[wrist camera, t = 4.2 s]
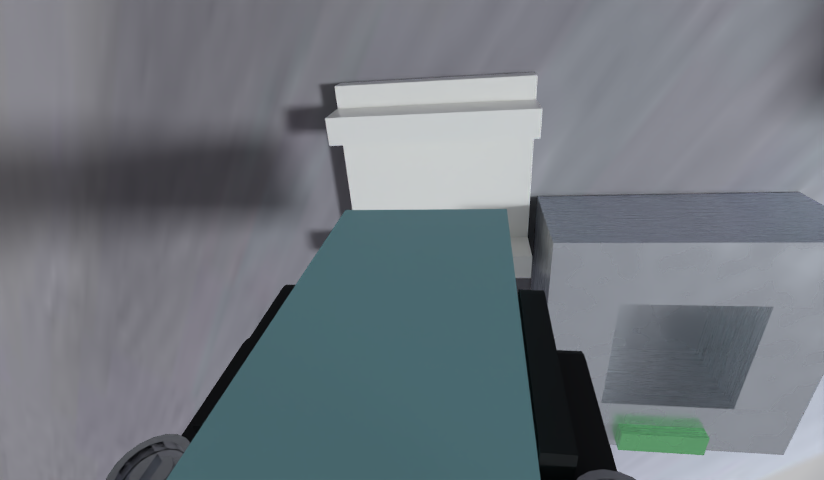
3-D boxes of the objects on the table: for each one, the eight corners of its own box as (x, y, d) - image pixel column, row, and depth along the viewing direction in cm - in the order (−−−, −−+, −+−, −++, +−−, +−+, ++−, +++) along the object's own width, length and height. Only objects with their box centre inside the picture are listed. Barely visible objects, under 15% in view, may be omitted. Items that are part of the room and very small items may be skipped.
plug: (345, 210, 12) (-56, 814, 3) (506, 209, 12) (604, 978, 2) (364, 333, 14) (158, 912, 5) (502, 338, 14) (545, 1017, 5)
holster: (340, 83, 21) (321, 93, 18) (534, 72, 19) (544, 82, 17) (365, 263, 25) (352, 292, 23) (523, 263, 24) (529, 295, 21)
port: (537, 196, 22) (555, 250, 17) (800, 192, 20) (903, 250, 16) (525, 371, 28) (536, 449, 23) (731, 379, 26) (791, 465, 21)
